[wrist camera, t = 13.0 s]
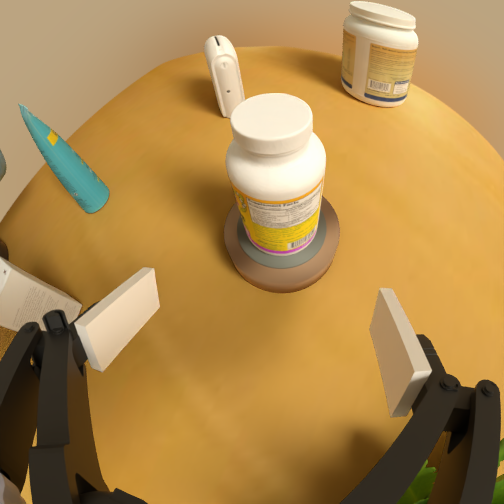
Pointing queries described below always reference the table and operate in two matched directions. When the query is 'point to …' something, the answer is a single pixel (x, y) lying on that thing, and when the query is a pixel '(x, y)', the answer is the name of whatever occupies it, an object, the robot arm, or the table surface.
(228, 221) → the walnut plinth
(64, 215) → the table surface
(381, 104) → the supplement tub
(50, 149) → the tube
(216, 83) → the photo printer
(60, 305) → the skincare box
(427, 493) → the potted flower
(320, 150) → the supplement bottle
